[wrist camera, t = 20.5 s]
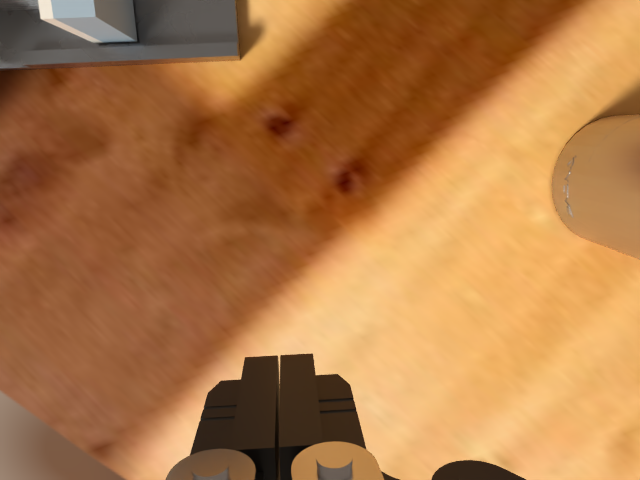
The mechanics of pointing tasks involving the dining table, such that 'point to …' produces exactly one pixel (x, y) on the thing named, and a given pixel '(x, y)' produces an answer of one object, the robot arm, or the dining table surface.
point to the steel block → (18, 4)
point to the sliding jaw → (92, 18)
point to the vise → (151, 47)
